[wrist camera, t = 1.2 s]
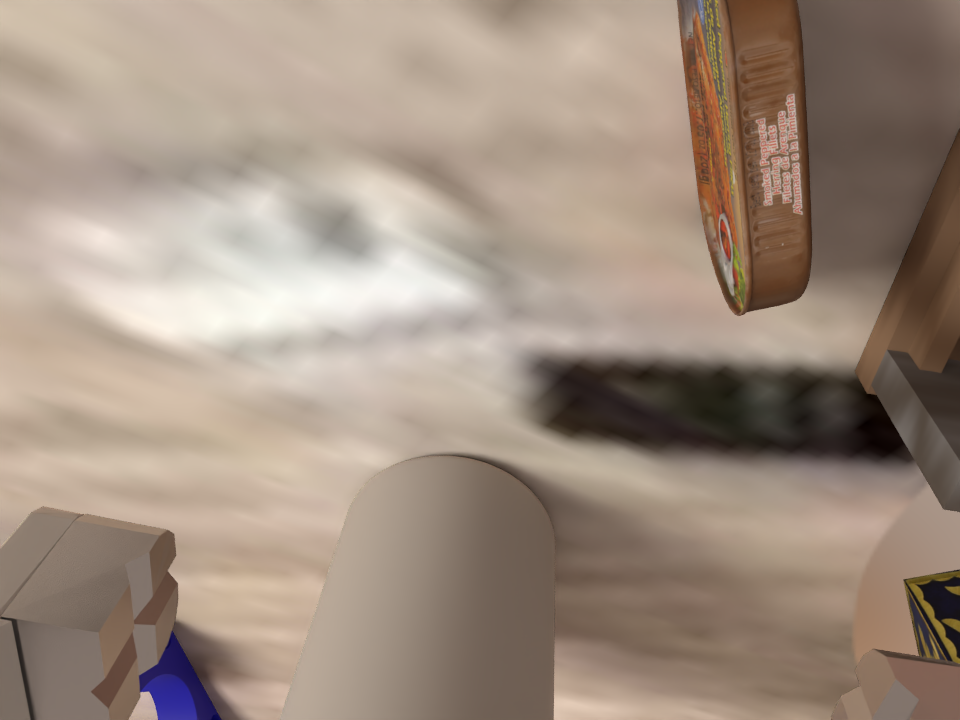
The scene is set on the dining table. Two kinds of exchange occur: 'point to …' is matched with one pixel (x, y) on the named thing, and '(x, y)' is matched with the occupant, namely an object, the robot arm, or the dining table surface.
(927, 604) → the decorative box
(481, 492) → the cylinder vase
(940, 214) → the holder
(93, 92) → the dining table surface
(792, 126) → the tin
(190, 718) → the cable clip
